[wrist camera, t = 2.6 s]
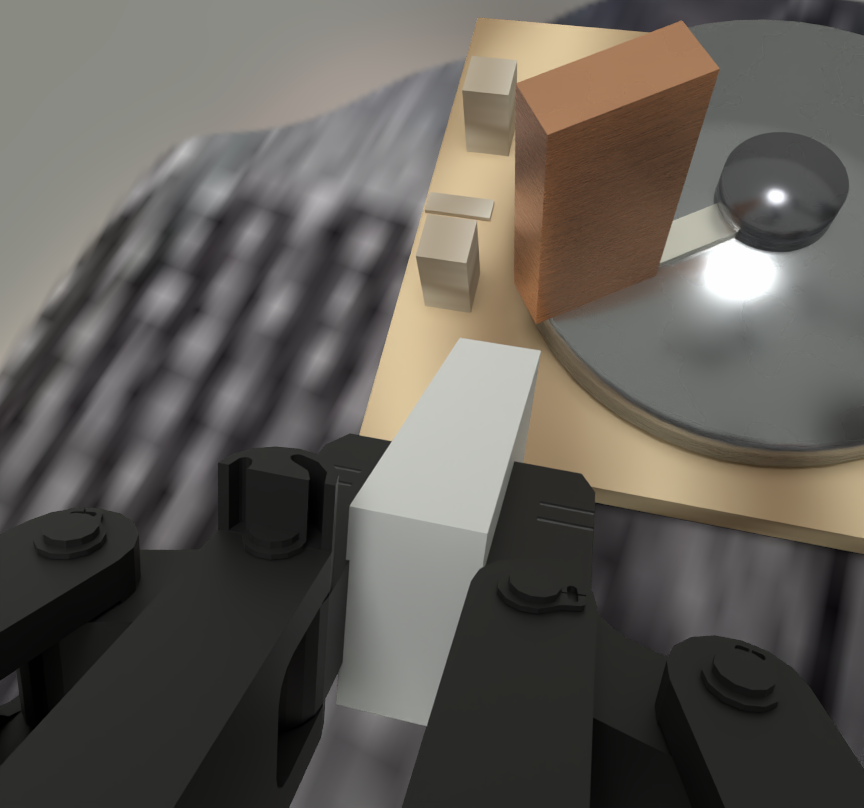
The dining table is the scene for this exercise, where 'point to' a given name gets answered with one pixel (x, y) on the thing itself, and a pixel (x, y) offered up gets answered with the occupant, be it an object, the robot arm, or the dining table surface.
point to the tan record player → (513, 325)
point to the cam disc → (704, 234)
